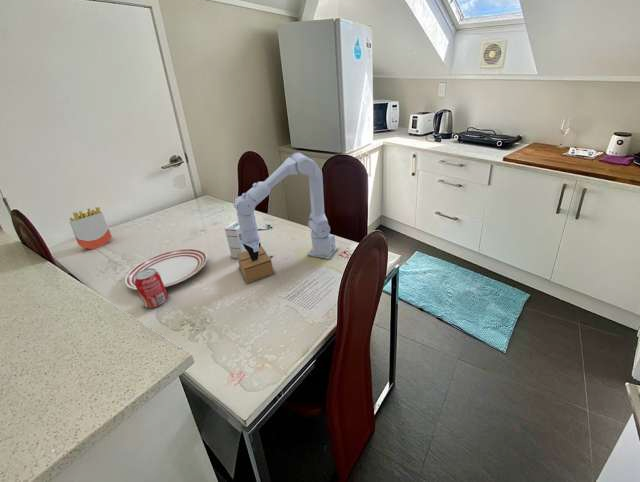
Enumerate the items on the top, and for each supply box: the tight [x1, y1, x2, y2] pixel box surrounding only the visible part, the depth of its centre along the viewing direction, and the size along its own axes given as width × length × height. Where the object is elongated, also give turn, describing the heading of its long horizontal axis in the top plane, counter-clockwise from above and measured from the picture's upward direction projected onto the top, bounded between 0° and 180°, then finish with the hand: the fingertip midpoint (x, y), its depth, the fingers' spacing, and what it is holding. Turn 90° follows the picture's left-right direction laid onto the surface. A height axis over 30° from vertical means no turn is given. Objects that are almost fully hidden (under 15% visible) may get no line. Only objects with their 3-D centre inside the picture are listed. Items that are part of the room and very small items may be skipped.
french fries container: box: [69, 206, 112, 250], centre depth 138 cm, size 5×11×18 cm, turn 148°
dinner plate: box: [124, 247, 208, 291], centre depth 121 cm, size 27×27×3 cm
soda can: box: [135, 268, 168, 308], centre depth 104 cm, size 7×7×12 cm
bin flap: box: [241, 253, 272, 269], centre depth 118 cm, size 6×10×1 cm, turn 125°
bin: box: [236, 245, 274, 284], centre depth 121 cm, size 12×10×7 cm
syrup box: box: [224, 221, 247, 259], centre depth 130 cm, size 6×6×14 cm
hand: (254, 259), depth 119 cm, fingers closed, pressing on bin flap
